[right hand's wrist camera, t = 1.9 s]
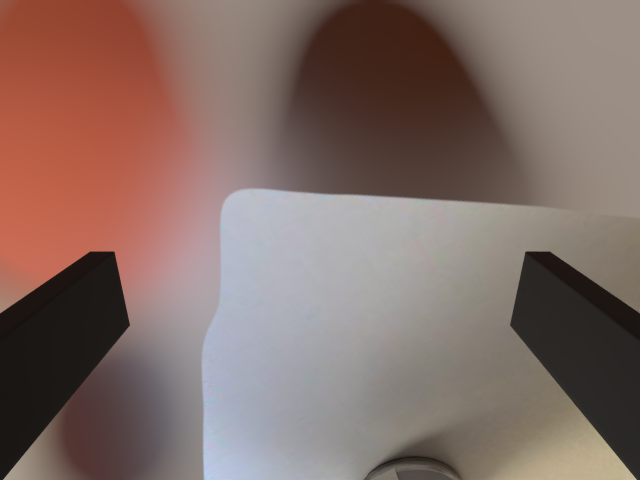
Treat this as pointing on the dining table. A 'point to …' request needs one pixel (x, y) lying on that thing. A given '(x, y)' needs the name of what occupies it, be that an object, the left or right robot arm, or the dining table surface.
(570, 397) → the right robot arm
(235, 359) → the dining table surface
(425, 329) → the dining table surface
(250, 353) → the dining table surface
